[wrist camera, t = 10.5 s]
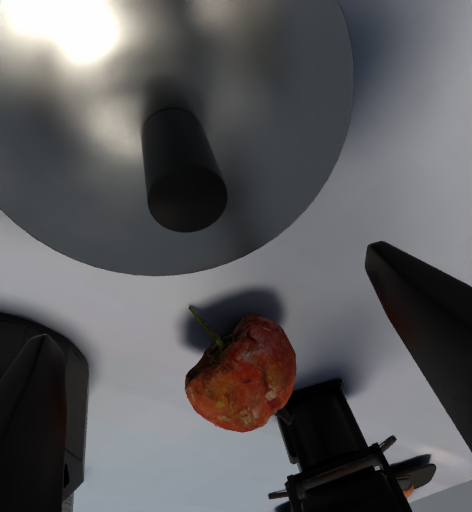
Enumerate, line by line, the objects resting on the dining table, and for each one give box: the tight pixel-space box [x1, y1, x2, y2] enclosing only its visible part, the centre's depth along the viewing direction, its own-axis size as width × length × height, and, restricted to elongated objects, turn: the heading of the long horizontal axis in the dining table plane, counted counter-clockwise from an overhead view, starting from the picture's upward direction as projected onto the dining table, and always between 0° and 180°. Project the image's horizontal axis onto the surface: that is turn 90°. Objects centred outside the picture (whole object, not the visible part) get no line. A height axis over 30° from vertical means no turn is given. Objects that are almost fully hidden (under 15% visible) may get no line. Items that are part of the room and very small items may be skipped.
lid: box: [0, 0, 354, 276], centre depth 14 cm, size 16×16×6 cm
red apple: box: [185, 307, 297, 432], centre depth 24 cm, size 7×7×10 cm
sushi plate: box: [268, 437, 436, 512], centre depth 62 cm, size 29×30×4 cm
